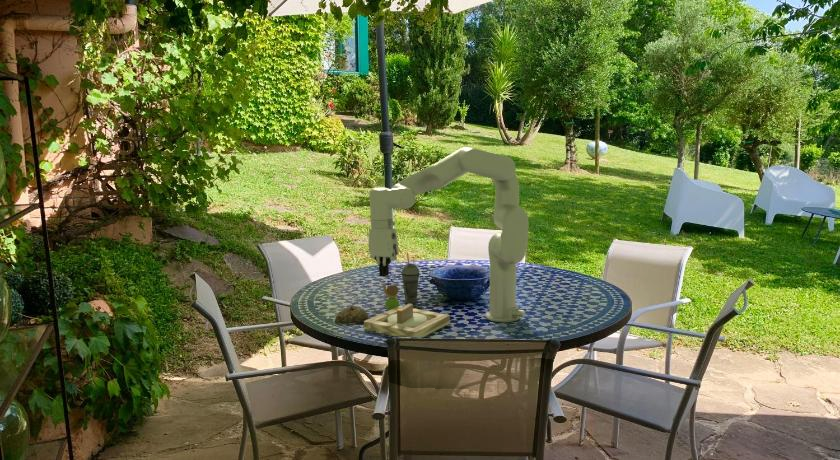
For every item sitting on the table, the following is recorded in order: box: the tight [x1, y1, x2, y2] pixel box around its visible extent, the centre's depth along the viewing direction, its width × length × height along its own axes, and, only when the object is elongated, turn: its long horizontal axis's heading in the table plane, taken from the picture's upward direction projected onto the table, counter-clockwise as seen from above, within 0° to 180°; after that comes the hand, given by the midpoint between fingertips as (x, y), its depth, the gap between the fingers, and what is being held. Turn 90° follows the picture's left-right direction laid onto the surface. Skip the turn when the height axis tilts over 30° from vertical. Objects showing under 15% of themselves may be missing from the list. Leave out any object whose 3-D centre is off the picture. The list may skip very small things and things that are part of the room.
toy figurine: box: [381, 280, 400, 311], centre depth 251 cm, size 5×6×12 cm
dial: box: [388, 303, 427, 328], centre depth 232 cm, size 14×14×6 cm
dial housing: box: [363, 305, 451, 338], centre depth 233 cm, size 22×22×3 cm
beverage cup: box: [401, 252, 421, 304], centre depth 263 cm, size 7×7×20 cm
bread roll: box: [334, 306, 370, 325], centre depth 242 cm, size 13×12×5 cm
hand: (384, 275), depth 228 cm, fingers closed
